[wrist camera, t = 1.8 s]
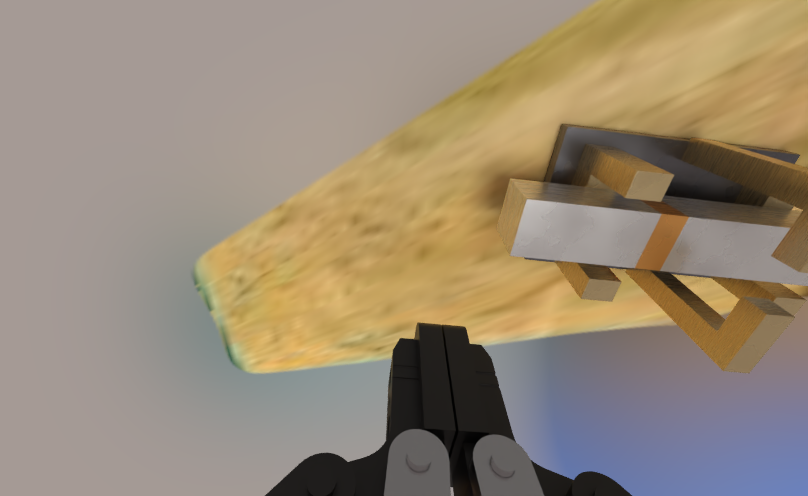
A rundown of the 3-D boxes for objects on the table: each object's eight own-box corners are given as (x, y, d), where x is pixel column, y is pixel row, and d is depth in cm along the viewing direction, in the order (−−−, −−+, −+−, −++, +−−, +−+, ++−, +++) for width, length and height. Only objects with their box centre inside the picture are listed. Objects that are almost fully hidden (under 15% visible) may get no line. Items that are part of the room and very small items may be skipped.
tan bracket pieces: (784, 167, 24) (889, 199, 19) (719, 268, 28) (791, 318, 23) (585, 143, 24) (637, 170, 18) (547, 250, 28) (580, 298, 22)
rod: (805, 211, 24) (866, 236, 21) (772, 257, 25) (823, 287, 22) (510, 178, 23) (527, 199, 20) (496, 229, 24) (510, 255, 21)
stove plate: (786, 151, 25) (800, 154, 24) (710, 271, 30) (719, 278, 29) (562, 123, 24) (567, 126, 23) (521, 252, 29) (524, 259, 28)
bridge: (713, 140, 23) (896, 194, 15) (643, 273, 29) (749, 373, 20) (691, 137, 23) (862, 190, 15) (625, 272, 28) (723, 371, 20)
